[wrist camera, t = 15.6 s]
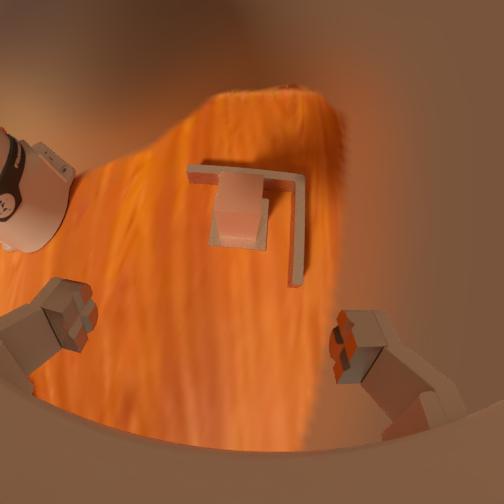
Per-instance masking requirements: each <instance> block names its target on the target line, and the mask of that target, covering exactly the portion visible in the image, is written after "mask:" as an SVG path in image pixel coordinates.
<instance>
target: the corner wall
mask: <svg viewBox="0 0 504 504" xmlns="http://www.w3.org/2000/svg"><path fill="white" fill-rule="evenodd" d="M220 171H224V172H237V173H249V174H259V175H264V182H263V189H267V190H276V191H285V192H292V194H291V226H290V249H289V269H288V287H287V288H298V287H300V286H302V285H303V270H304V240H305V175H303V174H296V173H288V172H280V171H271V170H262V169H251V168H240V167H228V166H213V165H195V164H188V167H187V171H186V172H187V176H188V179H189V182H190V183H193V184H209V185H218V183H219V177H220ZM216 196H217V194H216ZM216 196H215V202H214V209H213V216H212V223H211V231H210V238H209V246H217V247H228V248H239V249H250V250H260V251H265V250H266V236H267V222H268V207H269V199H263V198H262V209H261V217H260V222H259V227H258V231H257V236H256V240H252V239H241V238H231V237H219V232H218V227H217V222H216V217H215V211H214V210H215V203H216Z"/></svg>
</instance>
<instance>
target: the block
mask: <svg viewBox="0 0 504 504" xmlns="http://www.w3.org/2000/svg"><path fill="white" fill-rule="evenodd" d="M263 182H264V175H259V174H249V173H237V172H224V171H220V177H219V183H218V190H217V196H216V203H215V210H214V211H215V217H216V222H217V227H218V232H219V237H231V238H241V239H252V240H256V236H257V231H258V227H259V222H260V217H261V209H262V195H263Z"/></svg>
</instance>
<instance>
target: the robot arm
mask: <svg viewBox="0 0 504 504" xmlns="http://www.w3.org/2000/svg"><path fill="white" fill-rule="evenodd" d="M74 177H75V170H74V169H73V168H72V167H71V166H70V165H69V164H67V163H66V162H65V161H64V160H62V159H61V158H60V157H59V156H57V155H56V154H55V153H54V152H53V151H51V150H50V149H49V148H47V146H46V145H44V144H43V143H42V142H39V143H37V144H35V145H33V146H32V147H30V146H29V144H28V143H27V142H26V141H25V140H20V141H18V140H17V139H16V138H14V137H13V136H11V135H9V134H7V132H6V131H5V129H4V128H3V127H0V241H1V242H2V247H3V249H4V250H5V251H7V252H11V251H14V250H19V251H22V252H25V253H29V252H34V251H36V250H38V249H40V248H41V247H43V246H44V245H45V244H46V243H47V242H48V241H49V240H50V239H51V238H52V237H53V235H54V234H55V232H56V231H57V229H58V227H59V226H60V224H61V222H62V219H63V217H64V214H65V211H66V208H67V203H68V195H69V189H70V186H71V184H72V181H73V179H74ZM92 294H93V293H92V290H91V287H90V285H88V284H87V283H82V282H77V281H72V280H68V279H62V278H58V277H54V278H51V280H50V281H49V282H48V283H47V284H46V285H45V286H44V288H43V289H42V290H41V291H40V292H39V293H38V295H37V296H36V297H35V298H34V299H33V301H32V302H31V303H30V304H25V305H23V306H21V307H19V308H17V309H15V310H13V311H11V312H9V313H7V314H6V315H4V316H2V317H0V504H504V399H503V400H501V401H499V402H497V403H495V404H493V405H491V406H489V407H486V408H484V409H482V410H480V411H478V412H475V413H473V414H470V415H468V414H467V411H466V409H465V406H464V404H463V401H462V399H461V397H460V394H459V392H458V390H457V388H456V385H455V384H454V383H453V382H451V381H450V380H449V379H448V378H446V377H445V376H444V375H443V374H441V373H440V372H439V371H438V370H436V369H435V368H434V367H433V366H431V365H430V364H429V363H427V362H426V361H425V360H424V359H422V358H421V357H420V356H419V355H417V354H416V353H415V352H414V351H412V350H411V349H410V348H408V347H407V346H402V344H401V342H400V340H399V338H398V336H397V334H396V331H395V329H394V327H393V325H392V323H391V321H390V319H389V317H388V315H387V313H386V312H385V311H383V310H370V311H360V310H341V312H340V313H339V315H338V317H337V322H338V326H336V327H335V328H334V329H333V330H332V332H331V335H330V340H329V352H330V356H331V358H332V359H334V360H335V361H336V363H335V365H334V367H333V369H334V374H335V378H336V383H337V384H354V383H361V386H362V387H363V388H364V389H365V390H366V392H367V393H368V394H369V395H370V396H371V397H372V398H373V400H374V401H375V402H376V403H377V404H378V405H379V407H380V408H381V409H382V410H383V411H384V412H385V413H386V415H388V417H389V418H390V419H391V420H392V421H393V422H392V423H391V424H390V425H389V426H388V427H387V428H386V429H384V430H383V432H382V433H381V436H382V440H383V441H381V442H376V443H370V444H364V445H359V446H352V447H344V448H336V449H327V450H315V451H295V452H255V451H236V450H224V449H214V448H205V447H198V446H191V445H185V444H179V443H173V442H168V441H163V440H158V439H154V438H149V437H145V436H141V435H137V434H133V433H130V432H126V431H122V430H119V429H116V428H112V427H109V426H106V425H103V424H100V423H97V422H94V421H91V420H89V419H86V418H83V417H81V416H78V415H75V414H73V413H70V412H68V411H66V410H63V409H61V408H59V407H56V406H54V405H52V404H50V403H48V402H46V401H43V400H41V399H39V398H37V397H35V396H33V395H31V394H32V392H33V390H34V385H33V384H32V383H31V381H30V380H29V379H28V377H27V376H29V375H30V374H31V373H32V372H33V371H35V370H36V369H37V368H38V367H40V366H41V365H42V364H43V363H45V362H46V361H47V360H49V359H50V358H51V357H52V356H54V355H55V354H56V353H57V352H59V351H60V350H61V349H62V348H64V349H68V350H71V351H75V352H78V353H81V351H82V350H83V348H84V346H85V344H86V342H87V340H88V336H87V333H89V332H91V331H92V330H94V328H95V326H96V324H97V319H98V309H97V306H96V303H95V302H94V301H93V300H92V299H91V296H92Z"/></svg>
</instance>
